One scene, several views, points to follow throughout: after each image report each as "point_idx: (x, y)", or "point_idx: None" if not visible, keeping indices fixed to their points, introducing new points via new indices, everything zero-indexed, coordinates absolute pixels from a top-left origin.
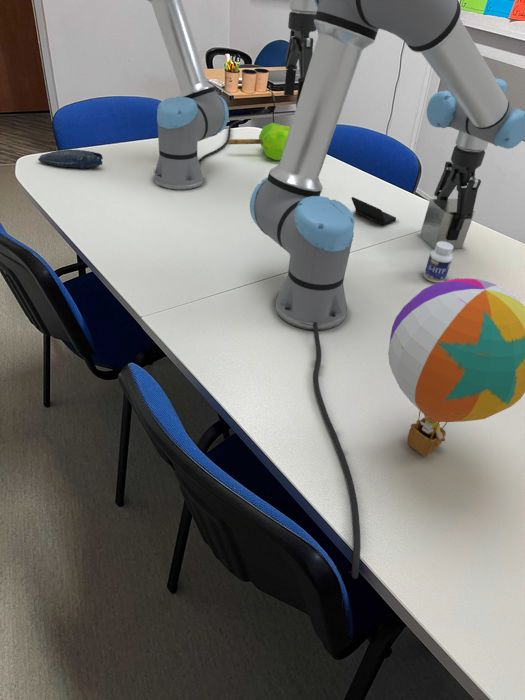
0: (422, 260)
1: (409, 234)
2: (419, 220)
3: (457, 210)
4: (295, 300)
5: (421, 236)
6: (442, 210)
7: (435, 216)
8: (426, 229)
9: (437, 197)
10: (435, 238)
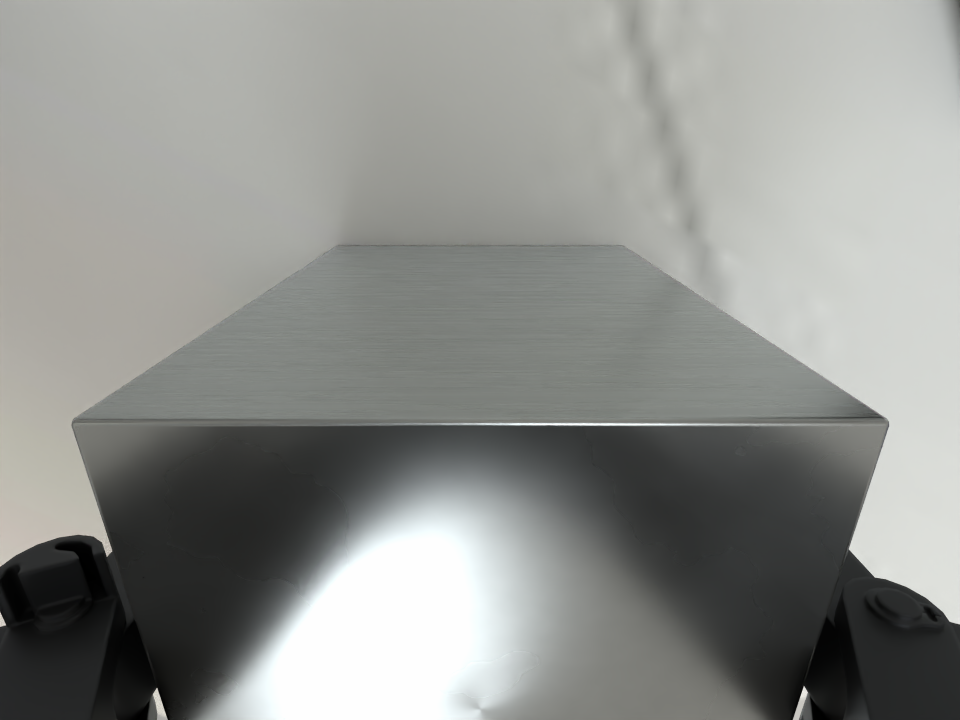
0: (98, 12)
1: (664, 143)
2: (904, 385)
3: (66, 694)
4: None
5: (589, 246)
6: (196, 416)
7: (436, 332)
8: (554, 266)
9: (930, 623)
10: (326, 266)
